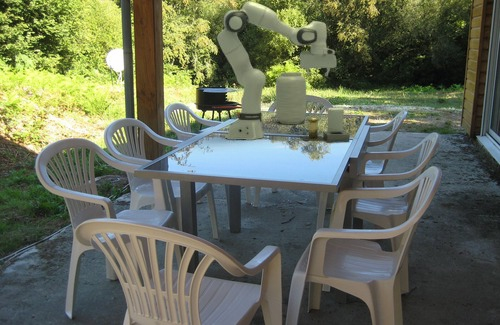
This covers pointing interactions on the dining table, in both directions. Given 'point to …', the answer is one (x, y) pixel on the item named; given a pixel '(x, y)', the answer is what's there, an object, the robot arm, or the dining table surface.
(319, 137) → the mat
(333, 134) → the housing
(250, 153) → the dining table surface
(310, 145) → the dining table surface
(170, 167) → the dining table surface
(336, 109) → the supplement box
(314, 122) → the knob
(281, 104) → the vase
